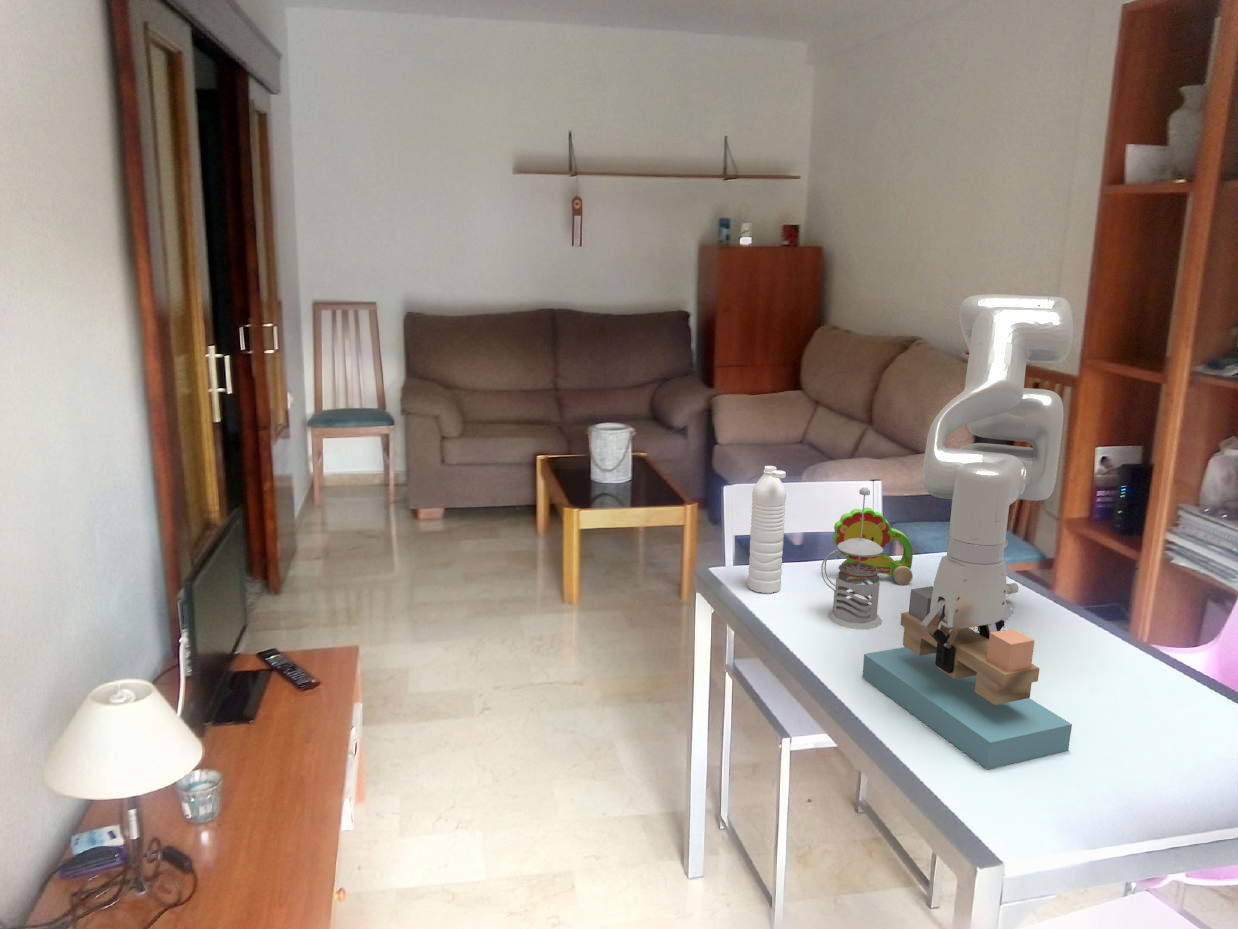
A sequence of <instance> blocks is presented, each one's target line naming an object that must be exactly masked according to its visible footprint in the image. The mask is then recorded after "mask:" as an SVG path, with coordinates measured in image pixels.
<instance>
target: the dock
mask: <svg viewBox="0 0 1238 929" xmlns="http://www.w3.org/2000/svg"><path fill="white" fill-rule="evenodd" d="M935 660H936V653H934V654H928V655H922V656H918V655H917V654H915V653H914V652H912V651H911V650H909V649H908V648H906V647H905V646H903V647H898V648H897V647H896V648H891V649H884V650H879V651H874V652H868V653H864V654H863V666H862V677H861V678H863V680H865V681H867V682H869V684H871V685H872V686H874V687H875V688H877V689H878V690H879V691H880V692H882V693H883V694H884V695H886V696H887V697H889V698H890V699H891V700H892V701H894V702H895V703H897V704H898V705H899V706H901V707H902V708H904V710H906V711H907V712H909V713H910V714H912V715H913V716H914V717H915V718H917V719H918V720H920V721H921V722H922V723H923V724H925V725H926V726H928V727H929V728H930V729H932V730H933V731H934V732H936V733H937V734H938V735H940V736H941V737H942V738H944V739H945V740H947V741H948V742H949V743H950V744H952V745H953V746H955V747H956V748H958V749H959V750H960V751H962V753H964V754H965V755H967V756H968V757H970V758H971V759H972V760H973V761H975V762H976V763H977V764H979V765H980V766H981V767H983V768H984V769H986V770H991V769H995V768H999V767H1003V766H1009V765H1013V764H1016V763H1017V764H1018V763H1021V762H1025V761H1029V760H1033V759H1038V758H1043V757H1046V756H1051V755H1055V754H1059V753H1063V752H1068V751H1069V749H1070V741H1071V733H1072V728H1073V723H1071V722H1069V721H1067V720H1065V718H1063V717H1061V716H1059V715H1058V714H1056V713H1054V712H1053V711H1052V710H1049V709H1048V708H1046V707H1045V706H1043V705H1041V704H1040V703H1038V702H1036V701H1035V700H1033V699H1032V698H1031V697H1030V698H1027V699H1022V700H1017V701H1012V702H1008V703H1003V704H998V705H994V704H993V703H991V702H990V701H988V700H987V699H985V698H983V697H982V696H980V695H979V694H977V693H976V692H975V684H976V675H975V676H969V677H964V678H959V679H954V678H953V677H951V676H949V675H948V674H946V673H945V672H943V671H942V670H940V669H939V668H937V666H936V664H935Z"/></svg>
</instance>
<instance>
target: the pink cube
mask: <svg viewBox="0 0 1238 929" xmlns="http://www.w3.org/2000/svg"><path fill="white" fill-rule="evenodd" d="M1034 647H1035V639H1033V638H1031V637H1029V636H1028V635H1025V633H1022V632H1020V631H1018V630H1016V629H1014V628H1010V629H1004V630H1002V629H1001V630H1000V631H997V632H991V633H990V636H989V644H988V653H987V660H989V661H990V662H992V663H994V664H995V665H997V666H999V667H1000V668H1002V669H1004V670H1006V671H1007V672H1010V671H1015V670H1020V669H1025V668H1031V664H1033V655H1034V654H1033V653H1034Z"/></svg>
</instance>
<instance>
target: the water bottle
mask: <svg viewBox="0 0 1238 929" xmlns="http://www.w3.org/2000/svg"><path fill="white" fill-rule="evenodd" d="M786 475H787V474H786V471H784V470H779V469H778V470H777V466H774V465H765V466H764V469H763V474H762V475H761V476H760V478H759V479H758V480H757V482H756V483H755V485H754V486H753V489H752V491H751V492H752V494H751V495H752V496H751V497H752V498H751V499H752V500H751V502H752V503H751V520H750V521H751V523H750V535H749V536H750V539H749V557H748V558H749V559H748V561H749V562H748V563H749V565H748V577H747V579H748V580H747V587H748V589H749V590H751V591H752V590H753V591H752V592H756V593H758V592H762V593H761V594H773V592H774V593H778V592H779V591H780V590H781V588H782V572H783V571H782V570H783V568H782V565H783V558H782V557H783V553H784V551H783V548H784V534H785V515H786V512H785V511H786V501H787V498H786V497H787V491H786V487H785V486H784V484H783V482H782V481H781V479H785V478H786Z"/></svg>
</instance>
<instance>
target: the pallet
mask: <svg viewBox="0 0 1238 929" xmlns="http://www.w3.org/2000/svg"><path fill="white" fill-rule="evenodd" d="M900 614H901V615H900V622H899V624H900V626H902V627H903V637H902V638H903V639H902V646H903V647H906V648H908V649H909V650H911V651H912V652H914V653H915V654H917V655H918V656H922V655H928V654H934V653H936V651H937V642H936V641H935V640H934V638H933V637H932V636H931V635H930V634H929V632H928V631H927V630H926V629H925V628H924V627H923V626H922V621H921V620H919V619H917V618H916V617H914V616H912V615H911V614H909V611H906V612H901V613H900ZM939 623H940V621H939V622H938V623H937V627H938V625H939ZM949 630H950V629H948V628H947V629H946V632H945V635H946V636H947V634H948V632H949ZM978 633H979V632H977V631H975V630H973V629H971V628H965V629H959V631H958V634H957V636H956V638H955V641H954V643H953V645H952V647H954V648H955V658H954V668H953V672H952V673H947V672H945V671H944V670H942V669H941V668H939V667H938V666H937V668H939V669H940V670H942V671H943V672H945V673H946V674H948V675H949V676H951V677H953V678H954V679H959V678H964V677H969V676H975V675H976V684H975V692H976V693H977V694H979V695H980V696H982V697H983V698H985V699H987V700H988V701H990V702H991V703H993V704H994V705H998V704H1003V703H1008V702H1012V701H1017V700H1022V699H1027V698H1030V699H1031V693H1032V692H1031V690H1032V683H1037V682H1039V674H1040V667H1039V666H1037V665H1035V664H1034V663H1032V664H1031V668H1025V669H1020V670H1015V671H1010V672H1007V671H1006V670H1004V669H1002V668H1000V667H999V666H997V665H995V664H994V663H992V662H990V661H989V660H987V653H988V644H989V639H987V638H985V637H984V636H982V635H980V634H978Z"/></svg>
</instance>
